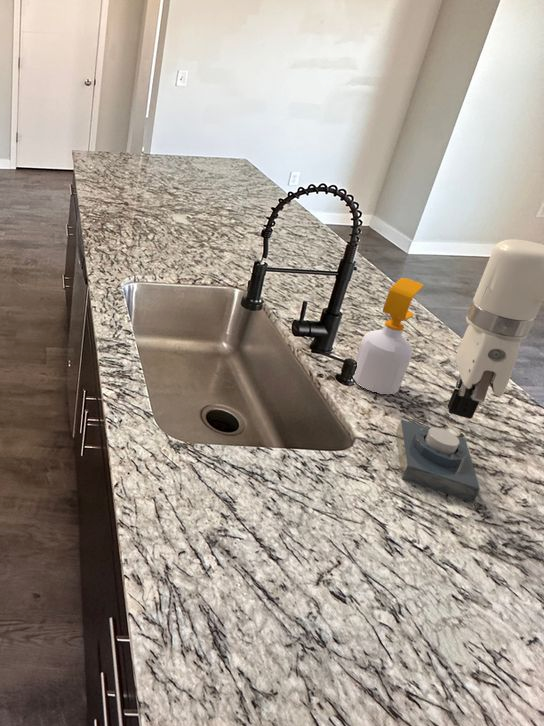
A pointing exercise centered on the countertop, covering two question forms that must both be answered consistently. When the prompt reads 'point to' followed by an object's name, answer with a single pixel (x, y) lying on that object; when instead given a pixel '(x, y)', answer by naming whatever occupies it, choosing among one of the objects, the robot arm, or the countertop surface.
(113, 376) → the countertop surface
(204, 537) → the countertop surface
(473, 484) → the push button base
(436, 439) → the flush button
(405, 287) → the soap bottle
